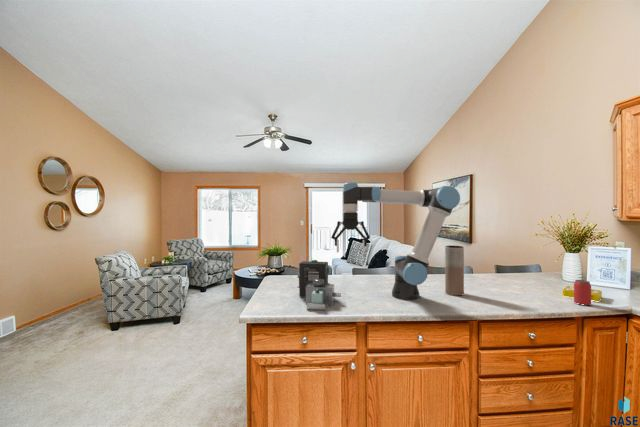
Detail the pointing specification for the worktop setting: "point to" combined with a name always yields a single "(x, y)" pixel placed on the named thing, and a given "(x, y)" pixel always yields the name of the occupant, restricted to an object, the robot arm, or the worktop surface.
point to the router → (311, 274)
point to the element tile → (595, 294)
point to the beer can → (582, 292)
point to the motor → (327, 294)
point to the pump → (317, 296)
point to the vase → (454, 270)
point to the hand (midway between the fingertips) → (350, 252)
